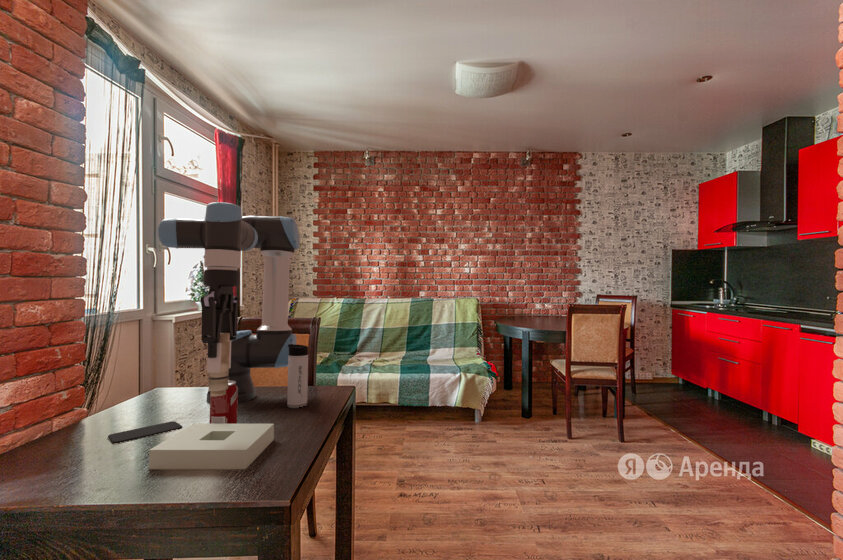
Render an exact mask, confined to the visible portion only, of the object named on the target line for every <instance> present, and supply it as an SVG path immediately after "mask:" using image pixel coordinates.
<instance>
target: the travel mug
mask: <svg viewBox="0 0 843 560" xmlns="http://www.w3.org/2000/svg"><path fill="white" fill-rule="evenodd" d="M288 347H289V355H288V366H287V395H286V396H287V401H286V402H287V404H286V405H287V406H286V407H288V409H289V408H290V409H300V408H299V407H302V408H304V407H303V406H305V407H306V406H307V405H308V391H309V390H308V381H309V380H308V379H309V346H308V345H303V344H296V345H293V344H289V345H288Z"/></svg>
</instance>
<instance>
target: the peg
mask: <svg viewBox="0 0 843 560" xmlns="http://www.w3.org/2000/svg"><path fill="white" fill-rule="evenodd" d="M229 342H230V333H220V341H219V343H222V347H221V372H208V388H207V389H208V390H209V391H210V396H222V395H225V394H226V389H228V378H229V375H228V374H229ZM208 390H207V391H208Z"/></svg>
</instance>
